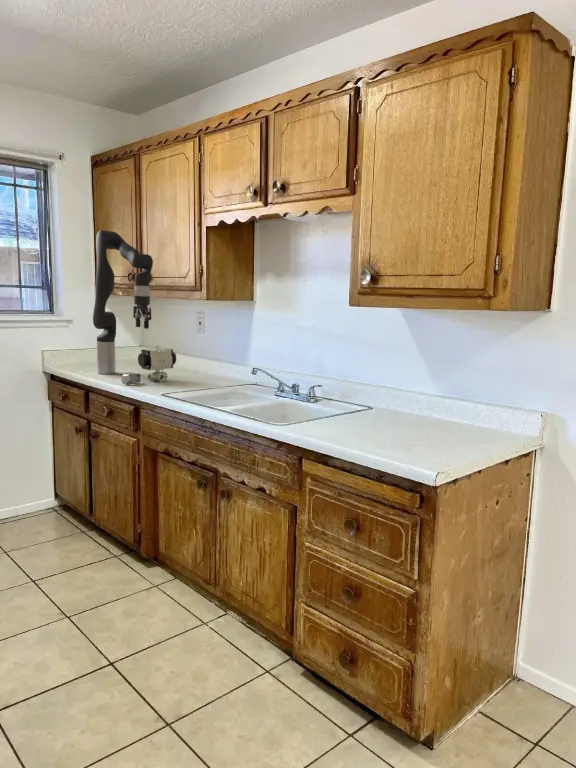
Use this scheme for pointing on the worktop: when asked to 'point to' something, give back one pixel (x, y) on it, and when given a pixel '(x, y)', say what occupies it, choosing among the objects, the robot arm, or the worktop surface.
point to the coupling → (130, 378)
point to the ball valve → (157, 362)
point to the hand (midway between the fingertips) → (142, 327)
